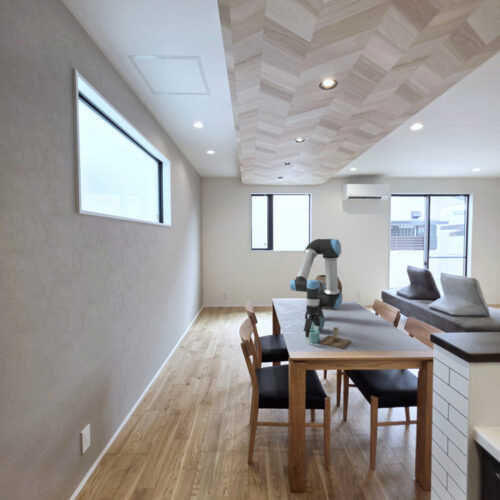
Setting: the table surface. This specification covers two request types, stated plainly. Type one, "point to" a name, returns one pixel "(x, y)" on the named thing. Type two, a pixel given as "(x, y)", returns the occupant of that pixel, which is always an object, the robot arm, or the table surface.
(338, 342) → the post stand
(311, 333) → the ring
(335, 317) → the table surface
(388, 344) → the table surface
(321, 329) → the flower pot
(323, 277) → the vase
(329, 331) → the table surface
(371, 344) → the table surface
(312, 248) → the robot arm
